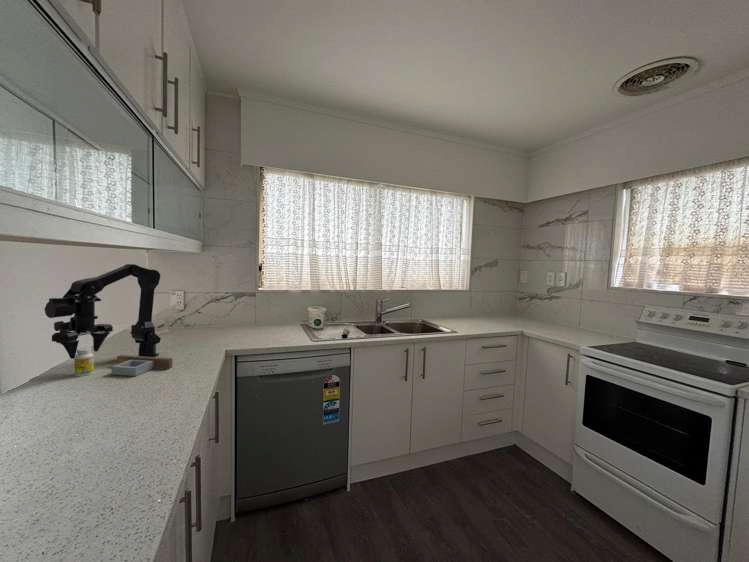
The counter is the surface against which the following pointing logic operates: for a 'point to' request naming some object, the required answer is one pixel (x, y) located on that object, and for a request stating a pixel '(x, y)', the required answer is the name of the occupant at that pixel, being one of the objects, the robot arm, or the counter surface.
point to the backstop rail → (158, 361)
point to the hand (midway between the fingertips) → (84, 354)
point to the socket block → (132, 367)
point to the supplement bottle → (84, 362)
